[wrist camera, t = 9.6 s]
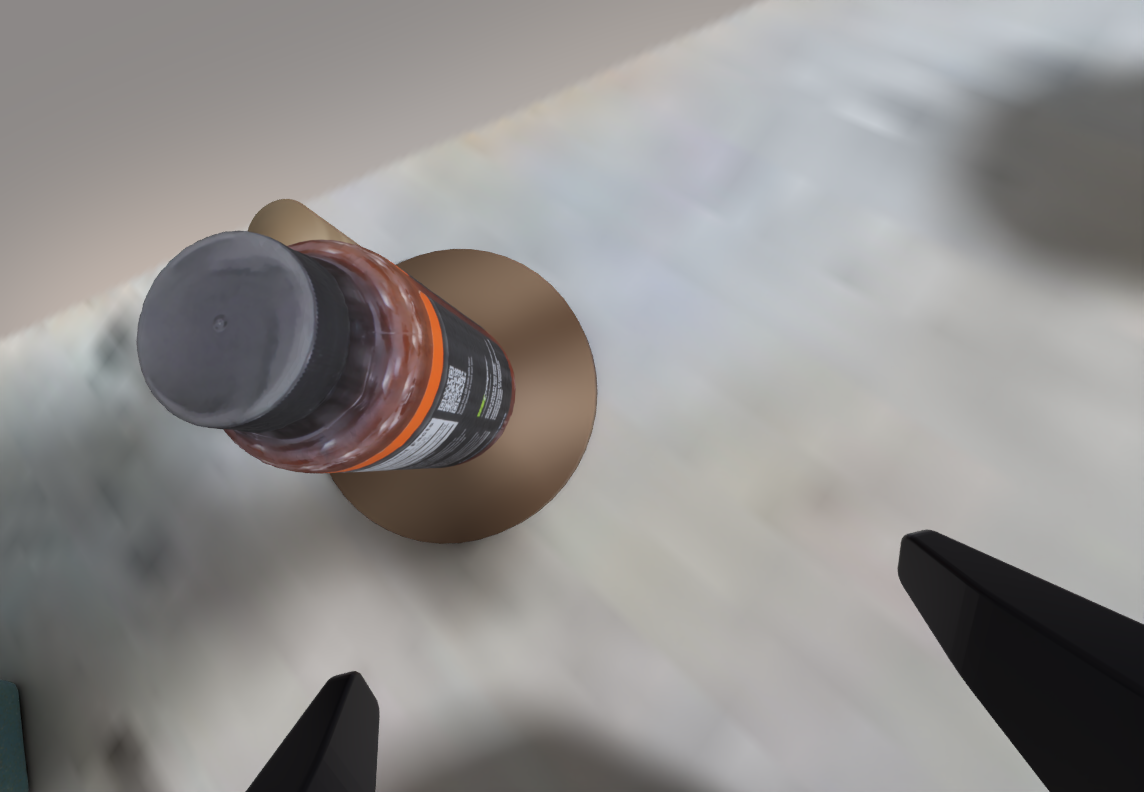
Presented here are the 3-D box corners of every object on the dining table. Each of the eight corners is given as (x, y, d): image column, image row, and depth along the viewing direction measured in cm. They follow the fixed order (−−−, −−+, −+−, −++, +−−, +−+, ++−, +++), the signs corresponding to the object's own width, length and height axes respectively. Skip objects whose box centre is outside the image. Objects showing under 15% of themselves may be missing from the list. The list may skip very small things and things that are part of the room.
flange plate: (658, 420, 21) (656, 399, 14) (421, 599, 21) (309, 664, 15) (483, 197, 23) (408, 86, 16) (276, 364, 24) (122, 324, 17)
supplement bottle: (367, 347, 22) (73, 231, 11) (499, 303, 21) (326, 132, 10) (397, 486, 21) (107, 512, 10) (537, 445, 20) (390, 424, 9)
